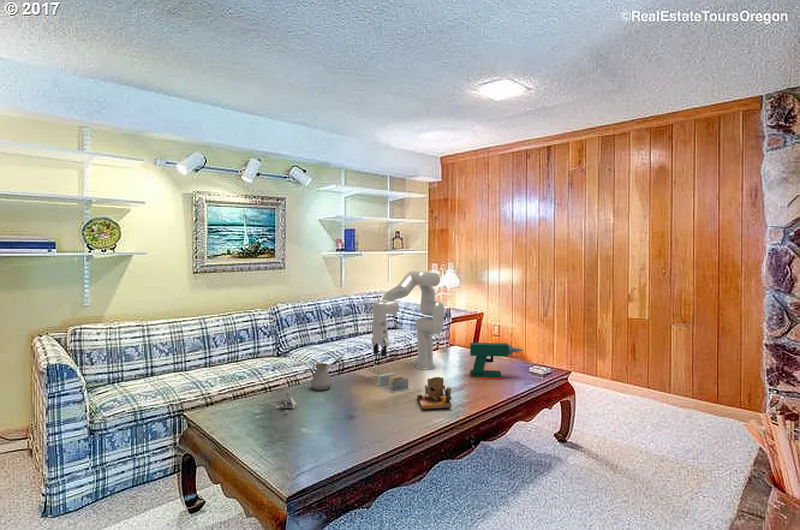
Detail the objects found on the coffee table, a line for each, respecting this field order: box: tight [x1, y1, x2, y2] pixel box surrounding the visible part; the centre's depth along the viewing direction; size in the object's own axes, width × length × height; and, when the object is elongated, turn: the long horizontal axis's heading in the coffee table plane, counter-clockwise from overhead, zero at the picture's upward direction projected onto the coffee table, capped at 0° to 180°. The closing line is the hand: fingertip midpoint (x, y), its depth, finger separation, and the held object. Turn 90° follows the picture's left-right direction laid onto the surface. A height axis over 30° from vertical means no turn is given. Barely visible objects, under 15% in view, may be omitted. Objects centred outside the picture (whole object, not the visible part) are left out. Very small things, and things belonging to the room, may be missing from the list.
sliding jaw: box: [377, 372, 396, 385], centre depth 251 cm, size 3×10×5 cm, turn 125°
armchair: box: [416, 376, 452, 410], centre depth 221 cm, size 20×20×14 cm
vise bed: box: [376, 377, 410, 394], centre depth 246 cm, size 16×11×6 cm
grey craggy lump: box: [276, 390, 297, 412], centre depth 215 cm, size 9×9×8 cm
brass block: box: [389, 374, 404, 388], centre depth 244 cm, size 4×6×6 cm, turn 126°
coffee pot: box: [310, 356, 345, 391], centre depth 249 cm, size 21×12×15 cm, turn 138°
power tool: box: [468, 342, 524, 380], centre depth 266 cm, size 32×7×20 cm, turn 84°
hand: (379, 354), depth 257 cm, fingers open, 7 cm apart
